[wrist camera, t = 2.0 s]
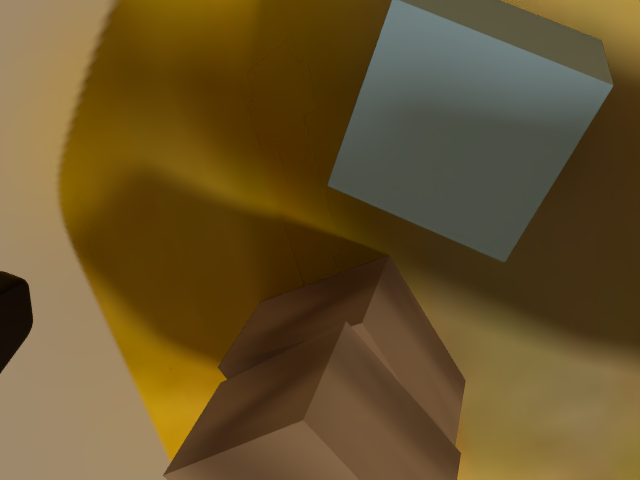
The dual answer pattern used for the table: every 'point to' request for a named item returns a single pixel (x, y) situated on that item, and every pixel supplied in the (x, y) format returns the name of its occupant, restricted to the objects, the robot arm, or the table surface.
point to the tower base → (360, 334)
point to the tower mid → (316, 421)
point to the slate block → (469, 117)
